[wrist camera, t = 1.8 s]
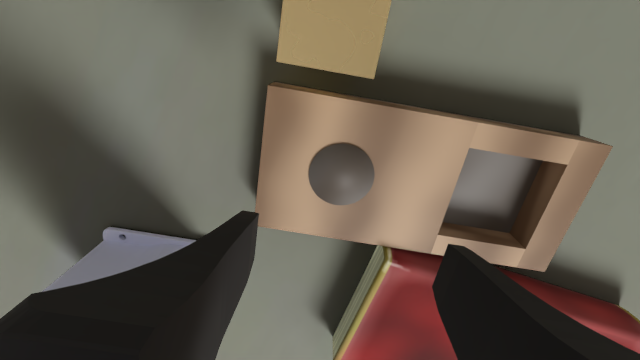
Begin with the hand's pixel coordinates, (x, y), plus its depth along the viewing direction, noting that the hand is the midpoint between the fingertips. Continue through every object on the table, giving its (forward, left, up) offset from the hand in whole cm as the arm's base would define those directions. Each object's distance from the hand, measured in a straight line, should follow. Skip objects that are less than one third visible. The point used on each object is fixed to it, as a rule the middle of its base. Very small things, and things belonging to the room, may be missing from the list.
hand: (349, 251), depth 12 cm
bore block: (+5, 0, -10) cm, 12 cm away
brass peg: (-2, +8, -10) cm, 13 cm away
